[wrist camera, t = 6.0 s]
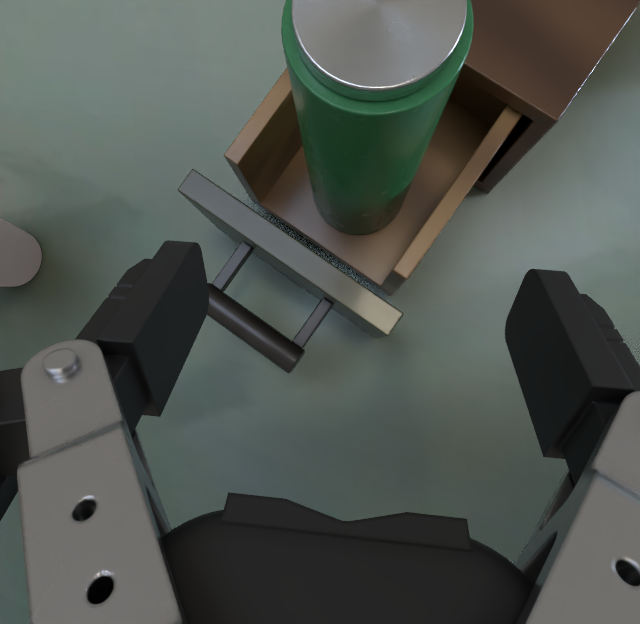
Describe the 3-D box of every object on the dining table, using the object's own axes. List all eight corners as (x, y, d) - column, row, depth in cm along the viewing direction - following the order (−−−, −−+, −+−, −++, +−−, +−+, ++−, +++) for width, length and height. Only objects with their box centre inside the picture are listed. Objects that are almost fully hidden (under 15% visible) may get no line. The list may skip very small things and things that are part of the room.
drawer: (335, 396, 25) (332, 416, 18) (180, 285, 26) (122, 264, 19) (515, 138, 25) (578, 64, 19) (357, 39, 26) (362, -66, 20)
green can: (423, 177, 24) (521, -25, 11) (370, 253, 24) (404, 141, 11) (347, 127, 25) (353, -124, 12) (294, 201, 25) (238, 33, 11)
